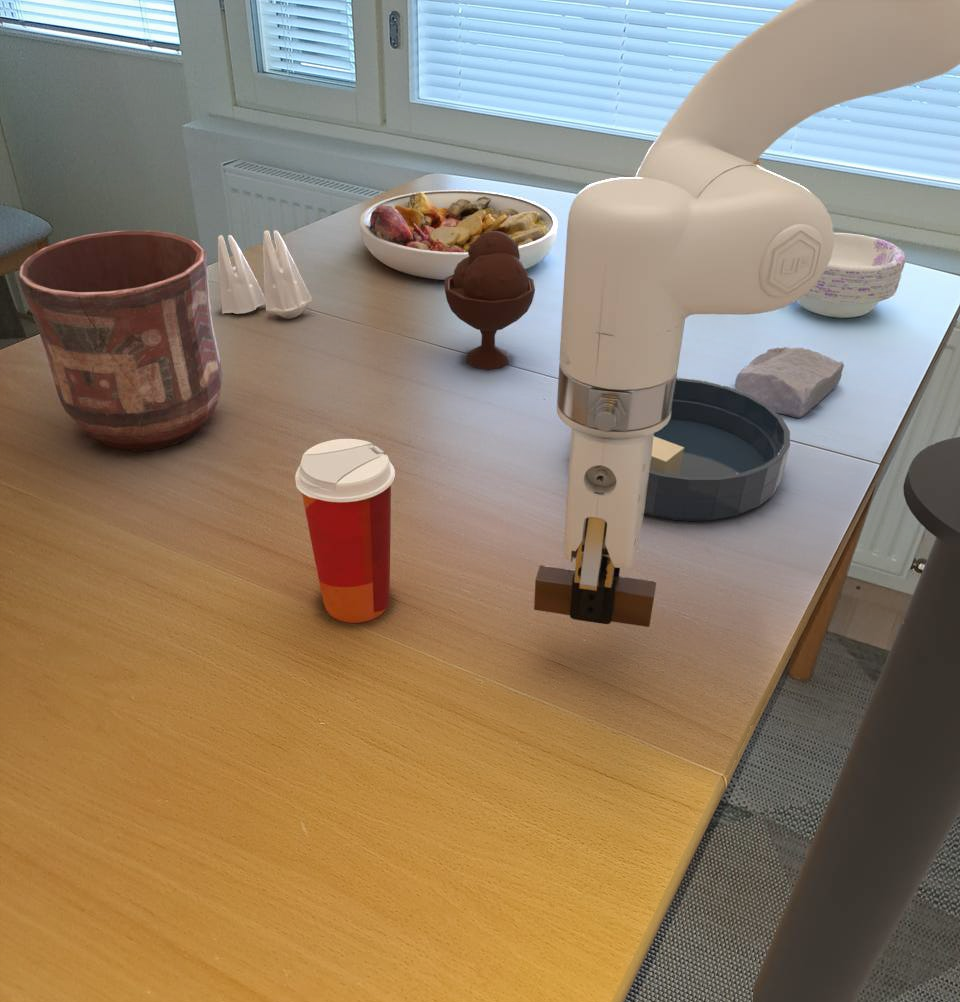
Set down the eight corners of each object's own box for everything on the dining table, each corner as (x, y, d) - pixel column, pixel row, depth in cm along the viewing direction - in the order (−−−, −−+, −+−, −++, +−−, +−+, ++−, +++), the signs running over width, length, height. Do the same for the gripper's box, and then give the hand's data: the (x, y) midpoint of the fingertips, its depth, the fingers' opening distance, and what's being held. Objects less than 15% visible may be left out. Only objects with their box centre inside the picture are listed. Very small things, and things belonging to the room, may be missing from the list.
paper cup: (371, 565, 85) (361, 425, 76) (418, 609, 81) (413, 466, 72) (294, 596, 82) (273, 454, 73) (339, 644, 77) (323, 498, 68)
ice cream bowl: (432, 347, 120) (430, 225, 111) (514, 337, 123) (519, 217, 113) (458, 384, 113) (459, 256, 103) (544, 371, 116) (553, 246, 106)
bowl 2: (778, 432, 105) (789, 390, 102) (778, 538, 90) (791, 493, 86) (590, 408, 109) (594, 367, 106) (559, 506, 93) (563, 462, 90)
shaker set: (315, 313, 128) (306, 228, 121) (302, 325, 125) (293, 238, 118) (234, 302, 130) (221, 218, 123) (220, 314, 127) (205, 228, 120)
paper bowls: (765, 285, 138) (777, 229, 133) (867, 285, 139) (883, 230, 134) (795, 328, 127) (809, 268, 122) (906, 328, 128) (925, 268, 122)
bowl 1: (483, 210, 162) (484, 161, 157) (595, 264, 144) (600, 209, 139) (327, 241, 149) (323, 188, 144) (428, 304, 131) (427, 246, 126)
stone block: (725, 412, 112) (807, 421, 107) (725, 372, 110) (810, 379, 104) (766, 380, 120) (845, 388, 114) (768, 342, 117) (849, 348, 111)
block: (648, 466, 98) (653, 435, 96) (678, 478, 96) (684, 447, 94) (630, 480, 96) (634, 449, 94) (661, 493, 94) (666, 461, 92)
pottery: (235, 457, 99) (205, 286, 87) (59, 473, 96) (4, 298, 84) (231, 382, 112) (205, 224, 100) (77, 394, 109) (30, 233, 97)
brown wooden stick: (651, 611, 74) (656, 581, 72) (649, 627, 72) (654, 597, 70) (538, 594, 75) (540, 564, 73) (533, 610, 74) (535, 580, 72)
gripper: (662, 459, 55) (629, 685, 67) (683, 345, 66) (651, 555, 79) (535, 444, 56) (525, 669, 68) (577, 334, 68) (562, 543, 80)
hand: (593, 607), depth 73 cm, fingers closed on brown wooden stick, 2 cm apart
